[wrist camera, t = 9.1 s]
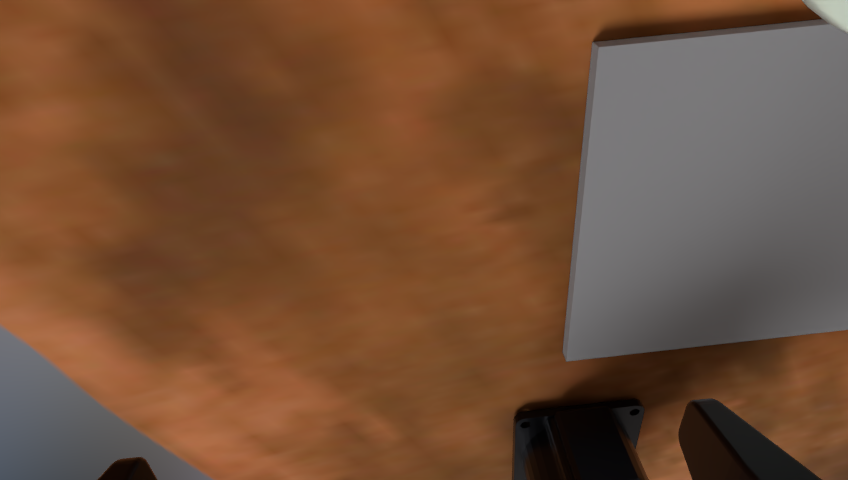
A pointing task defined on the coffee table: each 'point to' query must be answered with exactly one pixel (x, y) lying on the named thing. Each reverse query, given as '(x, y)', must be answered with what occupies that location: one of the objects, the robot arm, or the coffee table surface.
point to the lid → (831, 11)
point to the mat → (711, 191)
